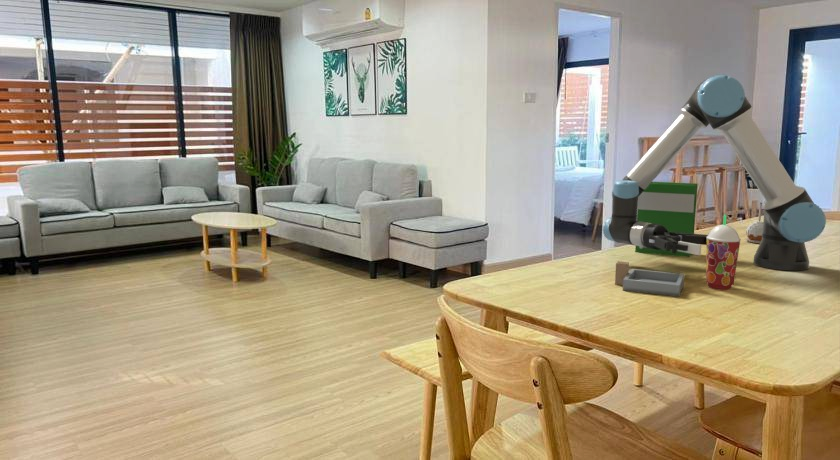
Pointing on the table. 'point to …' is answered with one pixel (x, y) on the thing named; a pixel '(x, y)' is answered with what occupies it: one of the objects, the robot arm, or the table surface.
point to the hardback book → (668, 210)
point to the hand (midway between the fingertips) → (715, 247)
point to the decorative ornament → (755, 230)
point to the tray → (648, 280)
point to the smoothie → (721, 256)
